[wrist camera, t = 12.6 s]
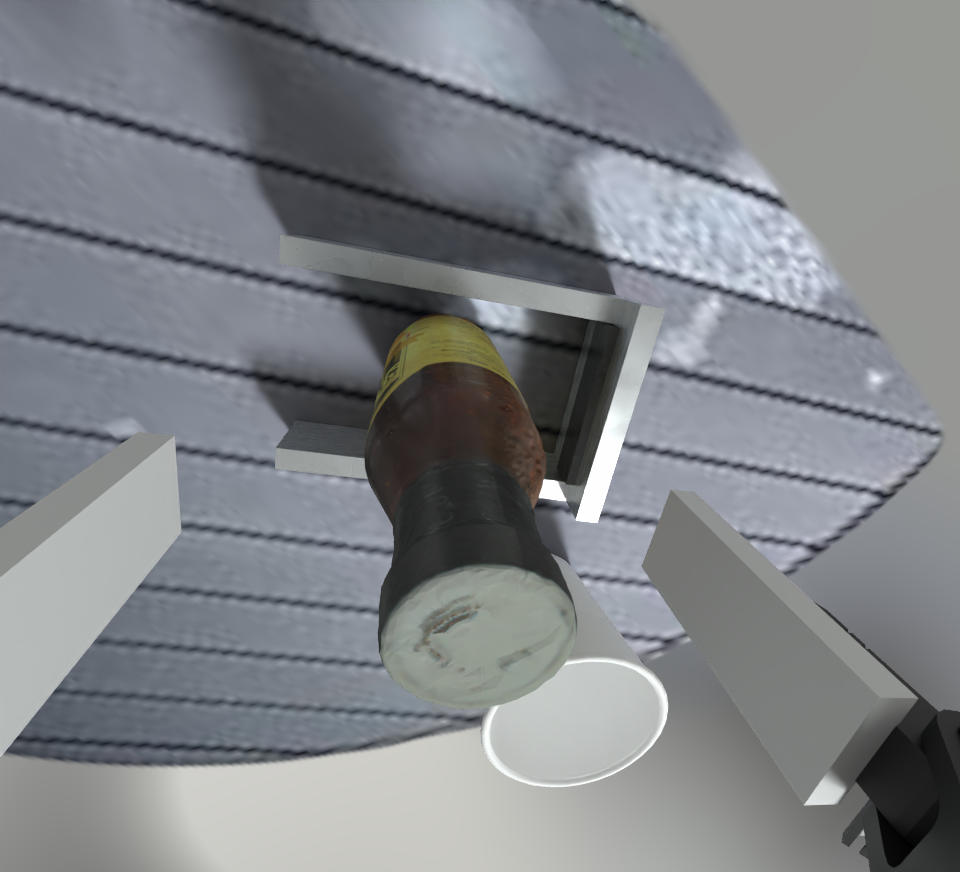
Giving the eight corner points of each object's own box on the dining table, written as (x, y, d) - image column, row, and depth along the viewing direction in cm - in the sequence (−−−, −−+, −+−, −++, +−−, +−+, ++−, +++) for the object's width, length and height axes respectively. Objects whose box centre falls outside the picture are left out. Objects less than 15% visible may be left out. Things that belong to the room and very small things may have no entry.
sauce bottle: (380, 315, 26) (260, 501, 7) (492, 304, 26) (644, 455, 8) (398, 425, 28) (343, 764, 10) (499, 413, 28) (627, 720, 10)
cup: (541, 651, 37) (584, 807, 27) (438, 600, 34) (442, 754, 24) (625, 565, 34) (707, 701, 24) (522, 502, 31) (566, 627, 21)
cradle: (295, 438, 28) (262, 487, 22) (303, 235, 24) (264, 233, 18) (566, 471, 31) (596, 522, 25) (616, 295, 26) (665, 309, 21)
